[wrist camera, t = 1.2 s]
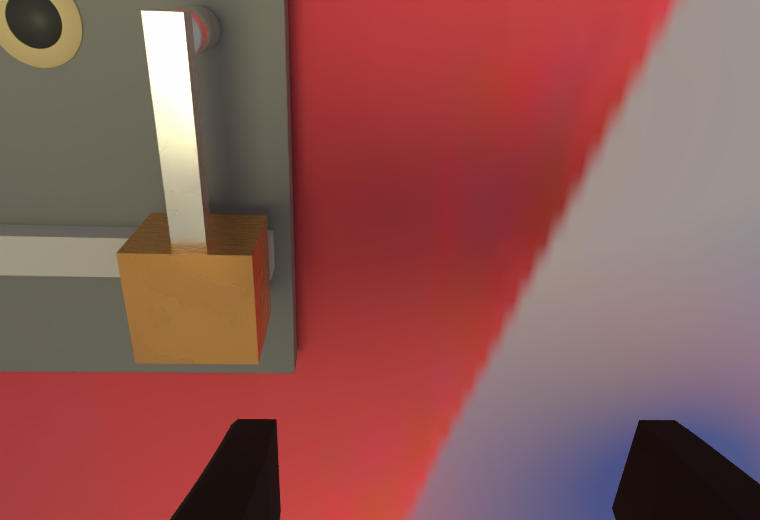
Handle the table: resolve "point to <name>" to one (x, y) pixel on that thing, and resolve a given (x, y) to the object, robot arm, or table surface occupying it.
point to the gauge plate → (128, 171)
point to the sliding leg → (191, 225)
